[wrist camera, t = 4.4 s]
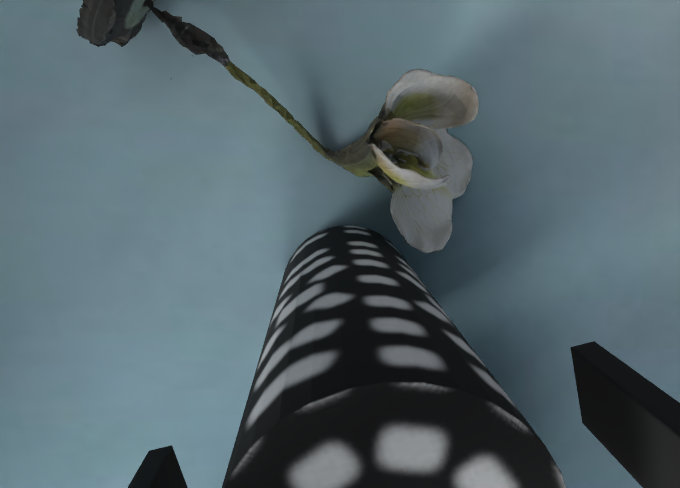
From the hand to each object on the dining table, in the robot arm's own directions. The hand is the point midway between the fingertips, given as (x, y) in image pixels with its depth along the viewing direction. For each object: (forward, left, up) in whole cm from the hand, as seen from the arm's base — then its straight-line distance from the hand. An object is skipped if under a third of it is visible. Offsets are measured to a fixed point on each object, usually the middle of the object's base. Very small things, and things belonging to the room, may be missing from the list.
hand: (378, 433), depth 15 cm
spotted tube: (0, 0, -16) cm, 16 cm away
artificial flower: (+1, +12, -16) cm, 20 cm away
